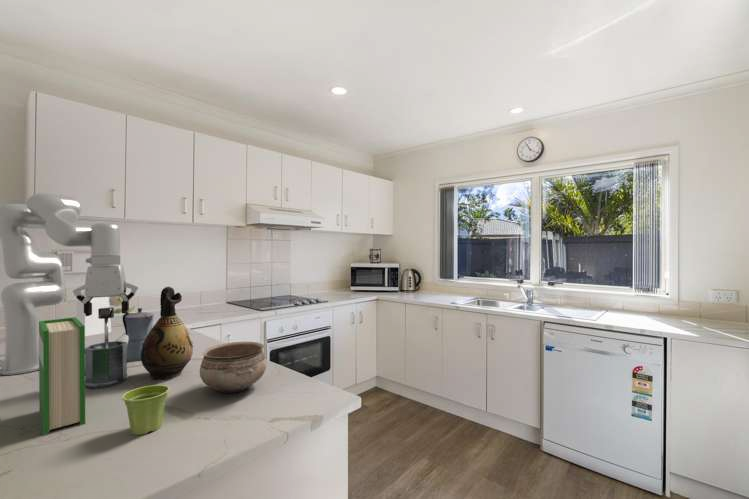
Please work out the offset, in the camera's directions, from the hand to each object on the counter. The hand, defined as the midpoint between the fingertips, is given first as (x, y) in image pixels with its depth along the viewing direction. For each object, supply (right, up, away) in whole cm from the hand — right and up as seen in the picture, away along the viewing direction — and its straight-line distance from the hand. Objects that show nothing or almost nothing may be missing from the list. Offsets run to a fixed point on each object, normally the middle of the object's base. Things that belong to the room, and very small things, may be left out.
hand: (106, 314), depth 114 cm
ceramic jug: (+16, -22, +7) cm, 28 cm away
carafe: (-1, -22, -1) cm, 22 cm away
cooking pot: (+44, -22, -7) cm, 50 cm away
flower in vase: (-26, -23, +46) cm, 57 cm away
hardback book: (+7, -22, -24) cm, 34 cm away
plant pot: (+33, -22, -30) cm, 50 cm away
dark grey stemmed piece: (0, -13, 0) cm, 13 cm away
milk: (-63, -24, +73) cm, 99 cm away
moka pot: (-8, -23, +26) cm, 35 cm away
